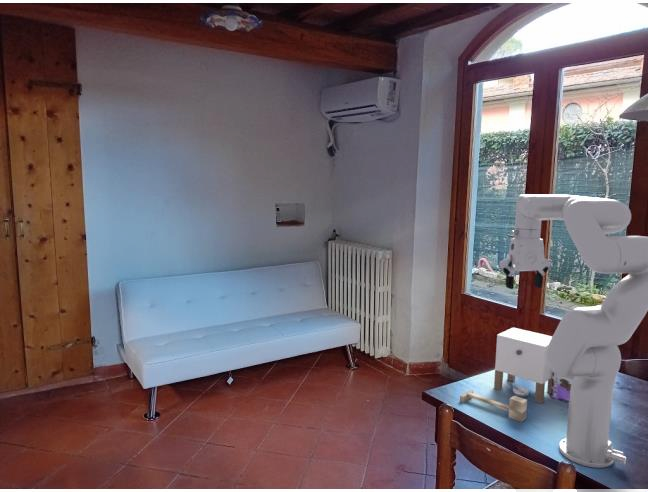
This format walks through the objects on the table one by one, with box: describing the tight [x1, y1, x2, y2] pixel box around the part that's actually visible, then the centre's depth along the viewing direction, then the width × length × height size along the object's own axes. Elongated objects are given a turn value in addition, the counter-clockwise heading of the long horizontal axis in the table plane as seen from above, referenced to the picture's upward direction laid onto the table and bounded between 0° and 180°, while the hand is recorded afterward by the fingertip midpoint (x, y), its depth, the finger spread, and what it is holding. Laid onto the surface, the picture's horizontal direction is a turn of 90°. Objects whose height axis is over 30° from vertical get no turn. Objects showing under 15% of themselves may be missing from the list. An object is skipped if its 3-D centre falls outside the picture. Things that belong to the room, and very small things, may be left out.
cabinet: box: [493, 327, 553, 404], centre depth 163 cm, size 16×13×19 cm
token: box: [512, 386, 530, 397], centre depth 163 cm, size 5×5×1 cm
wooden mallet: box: [459, 390, 528, 423], centre depth 150 cm, size 20×6×6 cm, turn 44°
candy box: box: [550, 373, 574, 403], centre depth 156 cm, size 14×6×16 cm, turn 47°
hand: (523, 287), depth 153 cm, fingers open, 9 cm apart
